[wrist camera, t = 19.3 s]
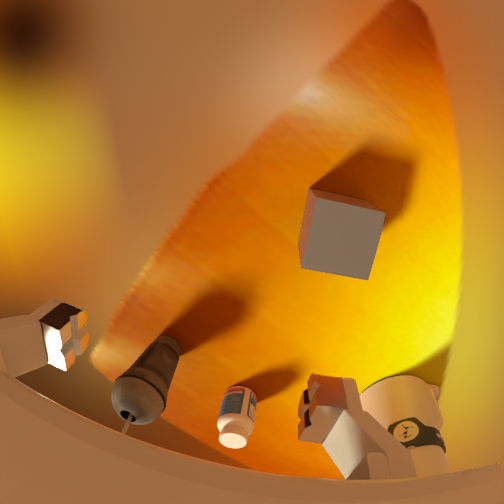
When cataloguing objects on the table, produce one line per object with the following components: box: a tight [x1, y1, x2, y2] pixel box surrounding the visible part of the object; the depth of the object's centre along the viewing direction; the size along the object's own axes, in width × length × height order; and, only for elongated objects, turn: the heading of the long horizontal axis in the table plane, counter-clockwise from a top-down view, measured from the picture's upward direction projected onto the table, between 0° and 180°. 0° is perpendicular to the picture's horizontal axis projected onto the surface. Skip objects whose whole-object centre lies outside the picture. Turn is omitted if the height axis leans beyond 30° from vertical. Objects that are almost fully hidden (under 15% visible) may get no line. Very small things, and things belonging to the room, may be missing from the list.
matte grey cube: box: [298, 188, 386, 280], centre depth 33 cm, size 7×7×9 cm
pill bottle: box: [217, 386, 257, 448], centre depth 42 cm, size 6×5×10 cm
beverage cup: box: [112, 336, 181, 434], centre depth 36 cm, size 7×7×20 cm
